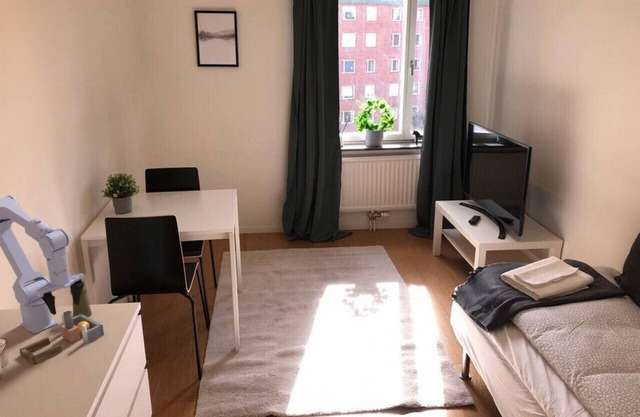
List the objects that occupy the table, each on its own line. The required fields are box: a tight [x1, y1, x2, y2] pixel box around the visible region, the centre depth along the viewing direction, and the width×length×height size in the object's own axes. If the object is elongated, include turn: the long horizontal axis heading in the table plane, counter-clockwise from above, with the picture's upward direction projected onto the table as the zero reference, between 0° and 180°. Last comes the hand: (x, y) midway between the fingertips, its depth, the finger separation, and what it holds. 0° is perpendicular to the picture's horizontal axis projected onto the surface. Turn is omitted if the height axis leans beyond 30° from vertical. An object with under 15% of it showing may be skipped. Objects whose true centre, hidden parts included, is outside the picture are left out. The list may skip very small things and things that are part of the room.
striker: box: [60, 310, 81, 343], centre depth 171 cm, size 5×3×9 cm, turn 54°
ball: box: [77, 321, 90, 335], centre depth 175 cm, size 4×4×4 cm
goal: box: [61, 313, 105, 345], centre depth 175 cm, size 12×7×6 cm, turn 54°
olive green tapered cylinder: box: [69, 284, 93, 318], centre depth 185 cm, size 6×6×11 cm
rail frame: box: [19, 336, 63, 365], centre depth 165 cm, size 8×8×2 cm
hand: (65, 308), depth 171 cm, fingers open, 7 cm apart
